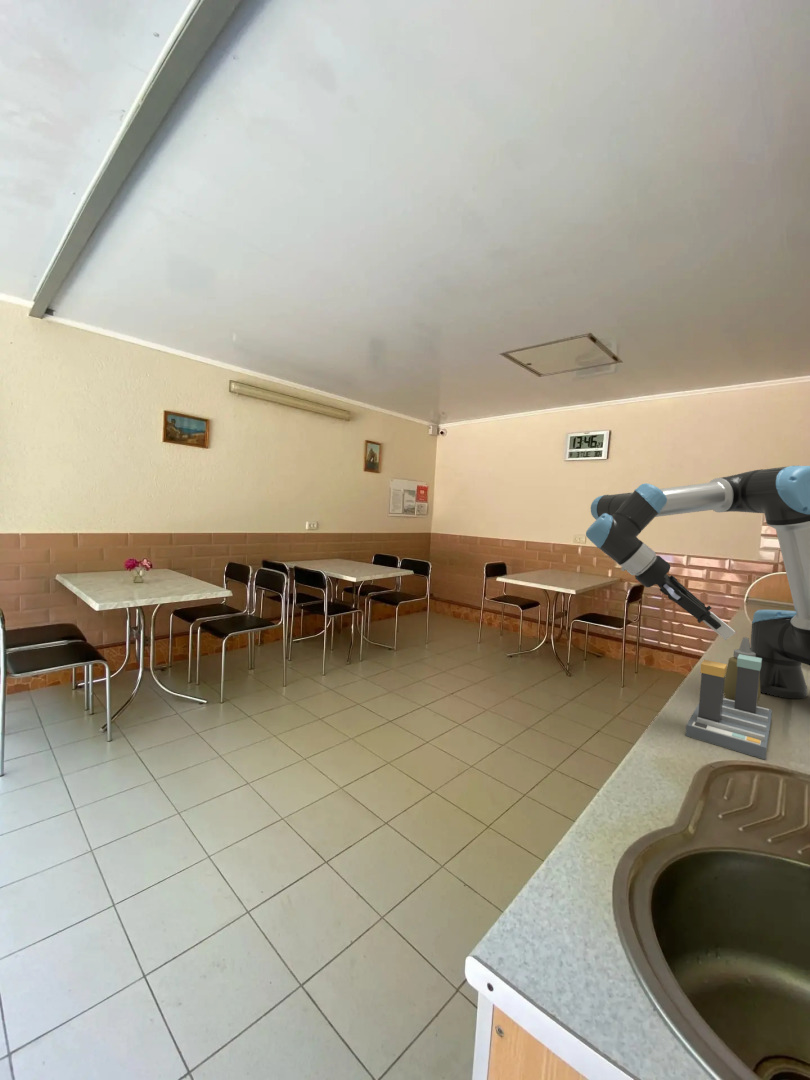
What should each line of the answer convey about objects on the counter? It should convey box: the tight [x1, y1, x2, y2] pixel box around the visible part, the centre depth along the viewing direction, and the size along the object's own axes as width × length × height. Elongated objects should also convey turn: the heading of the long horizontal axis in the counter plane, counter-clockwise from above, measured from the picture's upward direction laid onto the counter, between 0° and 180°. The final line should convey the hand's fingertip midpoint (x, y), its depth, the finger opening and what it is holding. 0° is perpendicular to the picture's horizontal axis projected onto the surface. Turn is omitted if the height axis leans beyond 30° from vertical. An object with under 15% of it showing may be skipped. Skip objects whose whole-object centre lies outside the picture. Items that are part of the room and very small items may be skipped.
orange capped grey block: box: [698, 659, 728, 723], centre depth 104 cm, size 4×4×13 cm
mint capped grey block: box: [734, 654, 762, 714], centre depth 109 cm, size 4×4×13 cm
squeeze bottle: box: [723, 637, 762, 704], centre depth 119 cm, size 8×8×18 cm
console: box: [685, 697, 773, 761], centre depth 107 cm, size 25×14×4 cm, turn 139°
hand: (729, 635), depth 104 cm, fingers closed
